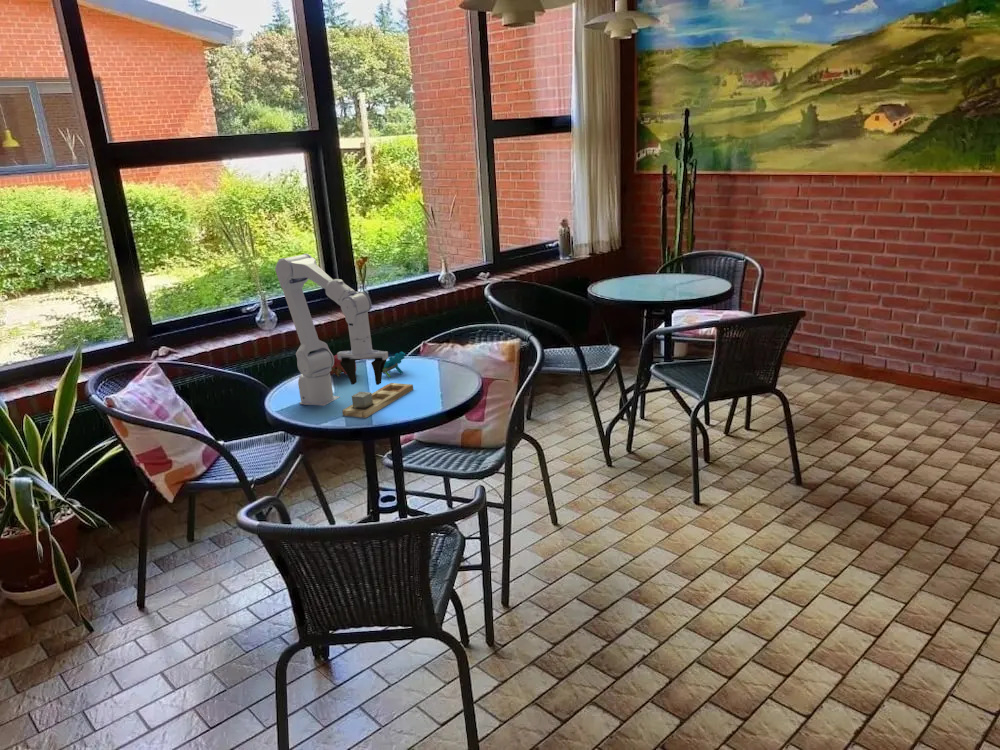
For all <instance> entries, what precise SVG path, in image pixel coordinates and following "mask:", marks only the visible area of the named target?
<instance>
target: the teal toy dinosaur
mask: <svg viewBox="0 0 1000 750" xmlns="http://www.w3.org/2000/svg"><path fill="white" fill-rule="evenodd" d="M405 356H406V353H405V352H403V351H399V353H398V352H396V353H395V354H394V356H390V357H388V360H386V363H385V365H384V368H383V372H382V374H386V375H387V377H388V378H389V377H390V378H392V376H391V374H390V373H389V372H390V371H392V370H394V369H395V370H396V371H397V372H398V373H399V374H400V375H402V374H403V373H404V371H402V369H401V368H400V367H399V364H402V360H404V359H405ZM388 371H389V372H388ZM401 373H402V374H401Z"/></svg>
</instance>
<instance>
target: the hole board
mask: <svg viewBox="0 0 1000 750" xmlns="http://www.w3.org/2000/svg"><path fill="white" fill-rule="evenodd" d="M411 391H414V385H413V384H409V383H396V382H390V383H388V384H386V385H384V386H382V387H381V388H379V389H377V390H376V391H374V392H371V393H372V400H373V406H371V407H369V408H368V409H366V410H362V409H353V403H352V404H351V405H349V406H347V407H345V408H344V409H342V410H341V411H342V416H344V417H345V416H346V417H355V418H368V417H370V416H372V415H374V414H375V413H377V412H378V411H380V410H382V409H383V408H385V407H386V406H388V405H390V404H392V403H394V402H395V401H397V400H399V399H400V398H402V397H403V396H405V395H407V394H408V393H410V392H411Z"/></svg>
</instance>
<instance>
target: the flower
mask: <svg viewBox="0 0 1000 750" xmlns="http://www.w3.org/2000/svg"><path fill="white" fill-rule="evenodd" d="M333 357H334V365H333V367H332V368H331V369H332V371H330V377H331V376H333V375H335V376H337V377H338V378H340V377H341V375H342V373H343V374H344V375H346V376H348V375H347V373H346V371H345V370H344V369H343V367H342V366H341V365H340V362H341V361H342V360H338V356H337V354H335V355H333ZM355 372H356V373H357V364H356V361H355Z"/></svg>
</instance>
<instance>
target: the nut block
mask: <svg viewBox="0 0 1000 750" xmlns="http://www.w3.org/2000/svg"><path fill="white" fill-rule="evenodd" d="M372 393H373V392H371V391H370V392H368V391H358V392H357V393H355V394H353V395H351V400H352V404H353V409H362V410H366V409H368V408H369V407H371V406H373V400H372Z"/></svg>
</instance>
